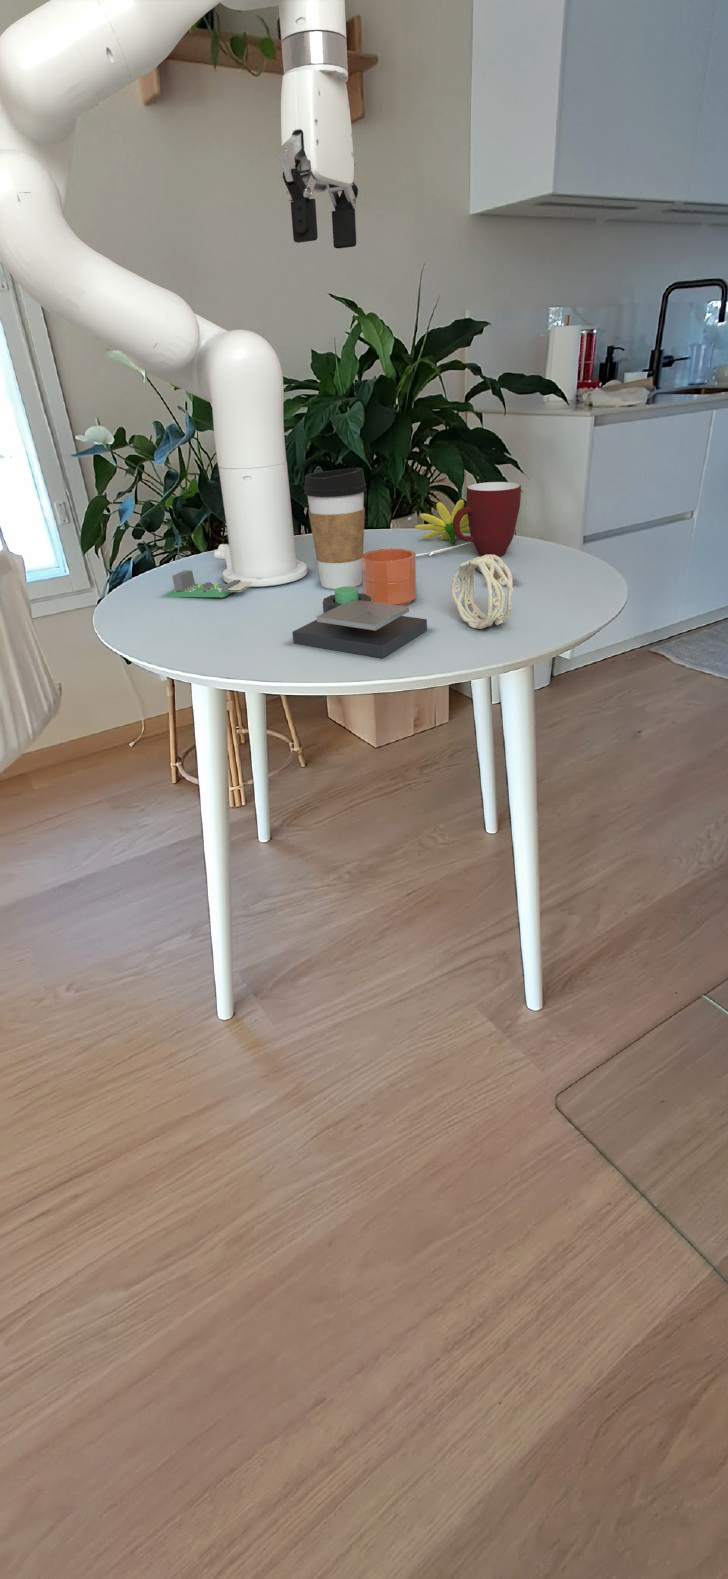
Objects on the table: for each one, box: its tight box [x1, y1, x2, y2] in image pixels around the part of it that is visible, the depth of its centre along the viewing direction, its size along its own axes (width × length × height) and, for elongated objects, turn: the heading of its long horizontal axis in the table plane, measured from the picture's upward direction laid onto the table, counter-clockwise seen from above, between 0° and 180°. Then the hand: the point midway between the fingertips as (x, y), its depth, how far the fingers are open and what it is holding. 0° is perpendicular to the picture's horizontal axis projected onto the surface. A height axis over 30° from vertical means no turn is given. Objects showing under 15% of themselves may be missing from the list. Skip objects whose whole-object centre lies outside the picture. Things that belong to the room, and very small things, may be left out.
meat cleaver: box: [475, 565, 515, 587], centre depth 107 cm, size 12×1×5 cm
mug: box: [453, 481, 522, 558], centre depth 116 cm, size 11×8×10 cm
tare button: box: [334, 586, 359, 604], centre depth 90 cm, size 3×3×2 cm
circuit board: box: [166, 570, 253, 599], centre depth 107 cm, size 12×3×5 cm
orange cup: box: [361, 548, 417, 606], centre depth 98 cm, size 7×7×6 cm
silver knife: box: [416, 541, 472, 557], centre depth 119 cm, size 4×1×19 cm
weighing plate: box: [316, 599, 410, 631], centre depth 84 cm, size 8×7×1 cm
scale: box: [292, 592, 428, 659], centre depth 88 cm, size 13×11×3 cm
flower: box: [414, 499, 470, 546], centre depth 125 cm, size 4×12×12 cm
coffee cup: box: [303, 467, 367, 590], centre depth 104 cm, size 8×8×15 cm
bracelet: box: [450, 555, 515, 630], centre depth 87 cm, size 4×8×8 cm, turn 31°
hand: (326, 244), depth 97 cm, fingers open, 9 cm apart
